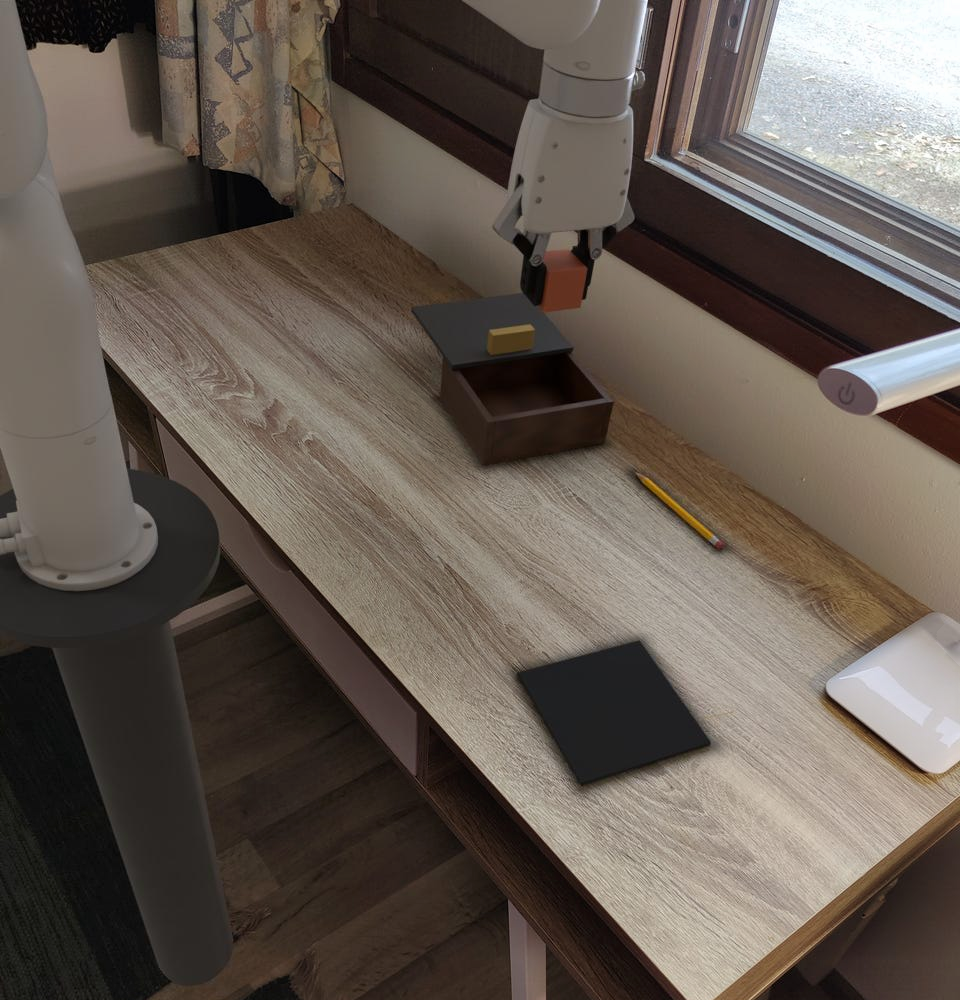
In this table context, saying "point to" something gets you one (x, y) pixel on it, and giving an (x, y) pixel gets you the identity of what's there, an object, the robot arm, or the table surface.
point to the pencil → (681, 512)
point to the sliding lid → (490, 330)
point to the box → (526, 406)
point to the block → (562, 281)
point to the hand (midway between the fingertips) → (553, 294)
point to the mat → (612, 711)
